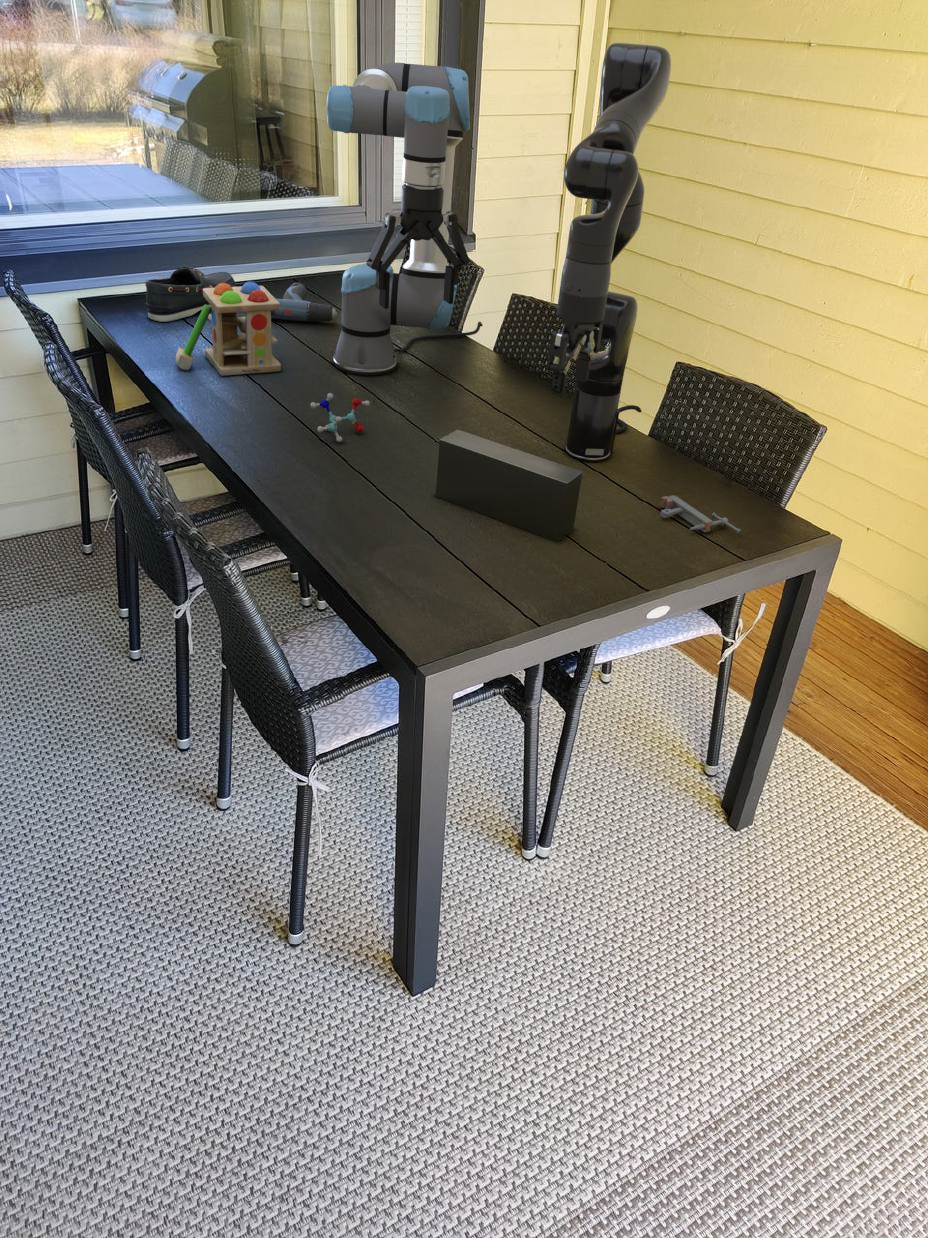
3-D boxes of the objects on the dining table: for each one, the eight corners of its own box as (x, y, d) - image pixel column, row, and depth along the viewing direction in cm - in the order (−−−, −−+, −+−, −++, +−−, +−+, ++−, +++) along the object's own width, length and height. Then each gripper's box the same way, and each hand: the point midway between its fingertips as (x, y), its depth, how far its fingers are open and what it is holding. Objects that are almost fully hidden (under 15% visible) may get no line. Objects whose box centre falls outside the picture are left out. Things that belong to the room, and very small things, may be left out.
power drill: (344, 304, 276) (335, 327, 259) (277, 298, 275) (264, 321, 258) (344, 285, 273) (335, 306, 256) (277, 279, 272) (264, 300, 255)
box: (435, 496, 184) (439, 439, 178) (452, 485, 188) (457, 429, 182) (557, 542, 173) (567, 483, 167) (573, 529, 178) (582, 471, 171)
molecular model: (357, 434, 195) (340, 385, 194) (317, 449, 199) (300, 401, 197) (380, 430, 206) (364, 384, 204) (342, 444, 209) (326, 399, 208)
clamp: (649, 498, 185) (689, 490, 190) (647, 509, 187) (687, 500, 191) (702, 536, 175) (743, 526, 179) (699, 546, 176) (740, 536, 181)
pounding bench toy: (183, 379, 220) (176, 299, 210) (169, 357, 231) (162, 280, 221) (282, 371, 230) (280, 294, 220) (264, 350, 240) (262, 276, 230)
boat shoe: (254, 300, 273) (252, 262, 268) (165, 323, 249) (160, 282, 244) (221, 292, 279) (218, 254, 273) (130, 314, 255) (125, 273, 250)
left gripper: (366, 190, 167) (363, 314, 179) (493, 188, 178) (482, 305, 190) (350, 181, 173) (348, 302, 185) (474, 179, 183) (464, 294, 195)
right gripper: (585, 302, 146) (569, 405, 155) (625, 284, 157) (608, 381, 166) (541, 291, 149) (528, 393, 158) (583, 274, 160) (568, 370, 169)
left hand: (416, 304), depth 187 cm, fingers open, 13 cm apart
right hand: (569, 387), depth 162 cm, fingers open, 8 cm apart
